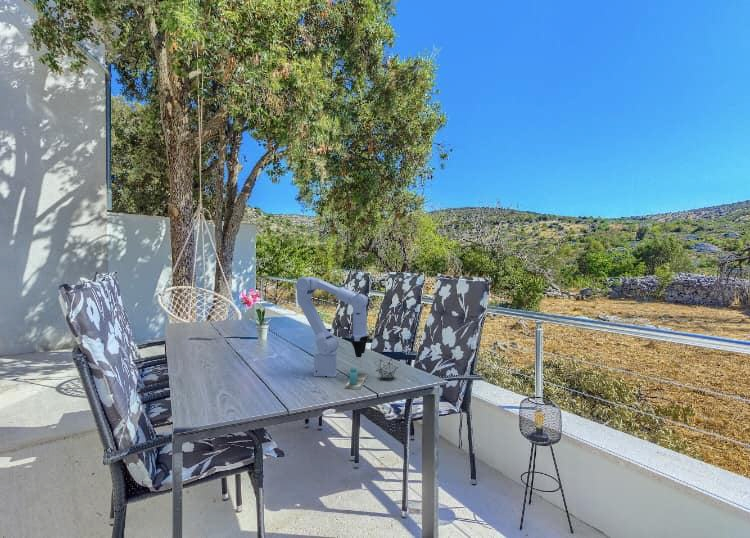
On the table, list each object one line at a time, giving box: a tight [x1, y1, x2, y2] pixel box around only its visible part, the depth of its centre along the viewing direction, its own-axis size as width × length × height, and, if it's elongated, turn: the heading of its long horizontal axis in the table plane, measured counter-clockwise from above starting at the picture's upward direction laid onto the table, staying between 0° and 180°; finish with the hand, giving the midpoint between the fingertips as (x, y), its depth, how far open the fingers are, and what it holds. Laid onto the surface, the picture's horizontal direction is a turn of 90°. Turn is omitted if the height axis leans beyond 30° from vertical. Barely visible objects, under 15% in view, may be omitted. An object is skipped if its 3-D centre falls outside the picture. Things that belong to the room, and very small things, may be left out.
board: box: [344, 372, 369, 390], centre depth 162 cm, size 6×18×1 cm, turn 172°
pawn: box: [349, 366, 358, 385], centre depth 155 cm, size 3×3×7 cm
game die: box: [375, 358, 399, 380], centre depth 167 cm, size 9×8×10 cm
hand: (360, 355), depth 169 cm, fingers open, 7 cm apart
